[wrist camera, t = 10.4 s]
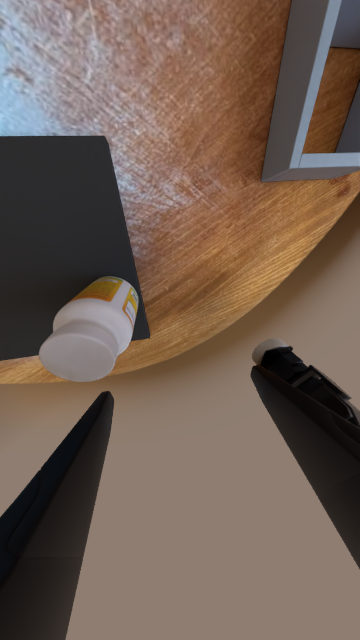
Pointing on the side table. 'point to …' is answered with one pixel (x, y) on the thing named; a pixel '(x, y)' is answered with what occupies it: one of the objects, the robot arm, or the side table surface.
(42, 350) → the supplement bottle
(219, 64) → the side table surface
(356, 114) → the holder
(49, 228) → the mat
